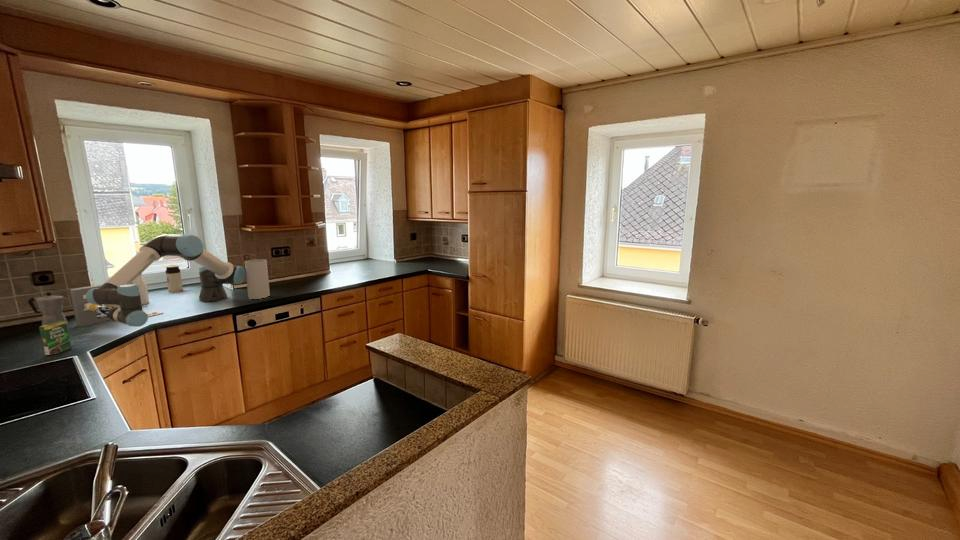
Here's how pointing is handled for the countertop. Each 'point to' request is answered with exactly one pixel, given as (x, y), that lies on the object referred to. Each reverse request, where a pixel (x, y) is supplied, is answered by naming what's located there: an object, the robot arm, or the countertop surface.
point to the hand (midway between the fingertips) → (97, 308)
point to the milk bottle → (142, 289)
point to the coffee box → (55, 337)
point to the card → (154, 313)
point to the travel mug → (174, 278)
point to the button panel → (81, 314)
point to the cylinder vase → (257, 278)
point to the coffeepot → (49, 308)
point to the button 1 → (90, 306)
